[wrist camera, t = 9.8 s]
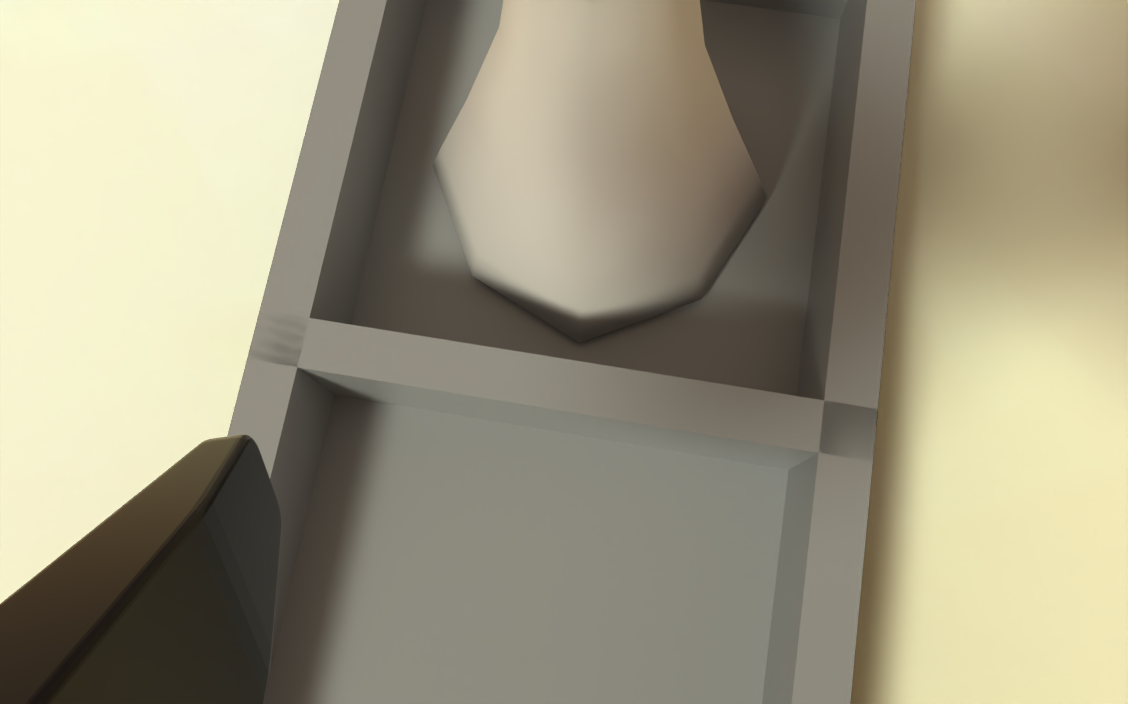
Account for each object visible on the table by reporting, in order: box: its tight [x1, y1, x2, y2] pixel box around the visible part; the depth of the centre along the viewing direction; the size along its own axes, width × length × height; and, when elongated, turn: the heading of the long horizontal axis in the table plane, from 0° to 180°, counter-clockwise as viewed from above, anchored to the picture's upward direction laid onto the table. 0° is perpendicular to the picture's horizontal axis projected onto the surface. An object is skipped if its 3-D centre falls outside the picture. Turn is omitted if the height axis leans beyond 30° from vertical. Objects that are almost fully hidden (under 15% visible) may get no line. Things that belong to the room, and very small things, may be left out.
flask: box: [433, 0, 767, 343], centre depth 17 cm, size 7×7×10 cm
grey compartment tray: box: [227, 0, 916, 704], centre depth 19 cm, size 23×12×4 cm, turn 170°
